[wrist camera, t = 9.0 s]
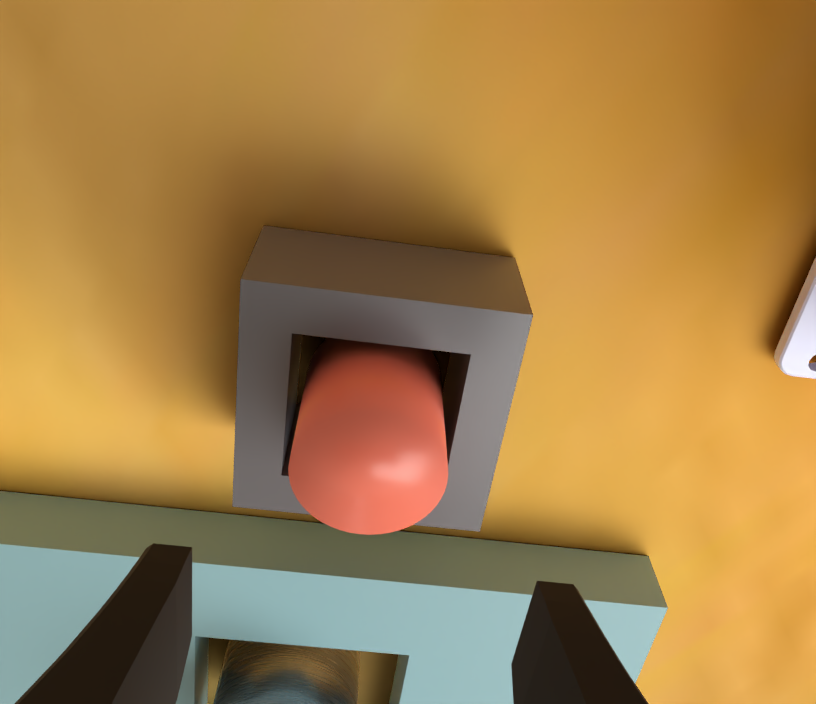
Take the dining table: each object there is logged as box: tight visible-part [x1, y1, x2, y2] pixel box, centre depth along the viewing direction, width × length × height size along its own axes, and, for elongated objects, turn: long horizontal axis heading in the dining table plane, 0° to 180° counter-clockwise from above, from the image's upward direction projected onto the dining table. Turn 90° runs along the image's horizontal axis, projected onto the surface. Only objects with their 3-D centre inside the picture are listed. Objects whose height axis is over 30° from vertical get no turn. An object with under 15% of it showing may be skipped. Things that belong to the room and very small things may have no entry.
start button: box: [288, 338, 448, 535], centre depth 17 cm, size 3×3×4 cm
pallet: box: [0, 491, 668, 704], centre depth 25 cm, size 20×12×2 cm, turn 82°
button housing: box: [232, 226, 533, 532], centre depth 19 cm, size 6×6×3 cm
